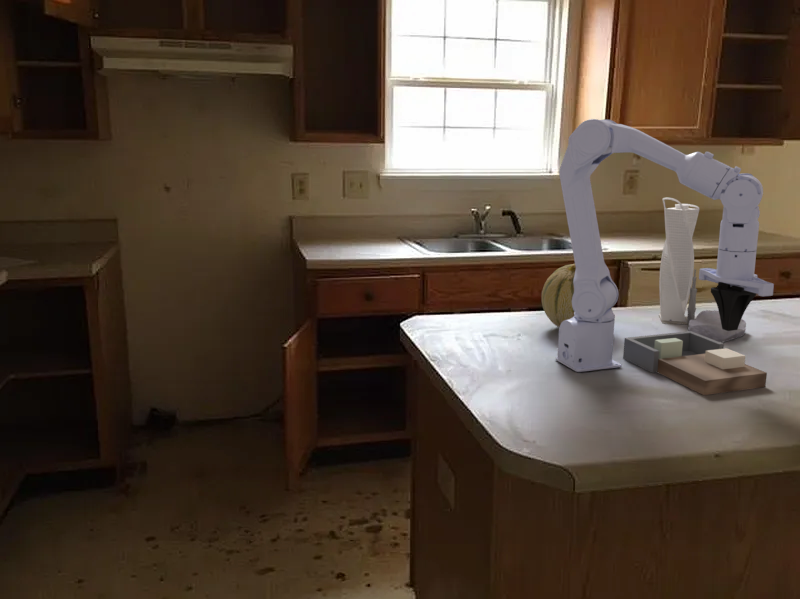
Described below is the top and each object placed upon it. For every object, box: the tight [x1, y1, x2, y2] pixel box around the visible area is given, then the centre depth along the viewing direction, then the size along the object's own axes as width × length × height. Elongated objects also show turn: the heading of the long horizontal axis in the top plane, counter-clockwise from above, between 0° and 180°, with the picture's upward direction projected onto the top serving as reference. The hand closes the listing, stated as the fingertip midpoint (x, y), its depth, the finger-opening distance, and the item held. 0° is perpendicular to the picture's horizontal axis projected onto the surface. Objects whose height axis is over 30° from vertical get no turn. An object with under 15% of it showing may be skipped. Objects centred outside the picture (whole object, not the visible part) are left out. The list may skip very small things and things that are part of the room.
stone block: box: [687, 309, 747, 343], centre depth 153 cm, size 12×5×10 cm
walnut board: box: [657, 354, 768, 396], centre depth 125 cm, size 12×12×2 cm
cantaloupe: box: [541, 263, 576, 328], centre depth 155 cm, size 15×15×15 cm
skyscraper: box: [658, 196, 700, 326], centre depth 162 cm, size 8×8×28 cm
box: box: [622, 330, 725, 374], centre depth 135 cm, size 15×9×4 cm, turn 108°
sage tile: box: [654, 338, 683, 359], centre depth 132 cm, size 4×4×2 cm
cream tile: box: [705, 348, 746, 369], centre depth 126 cm, size 4×4×2 cm
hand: (729, 329), depth 121 cm, fingers closed
